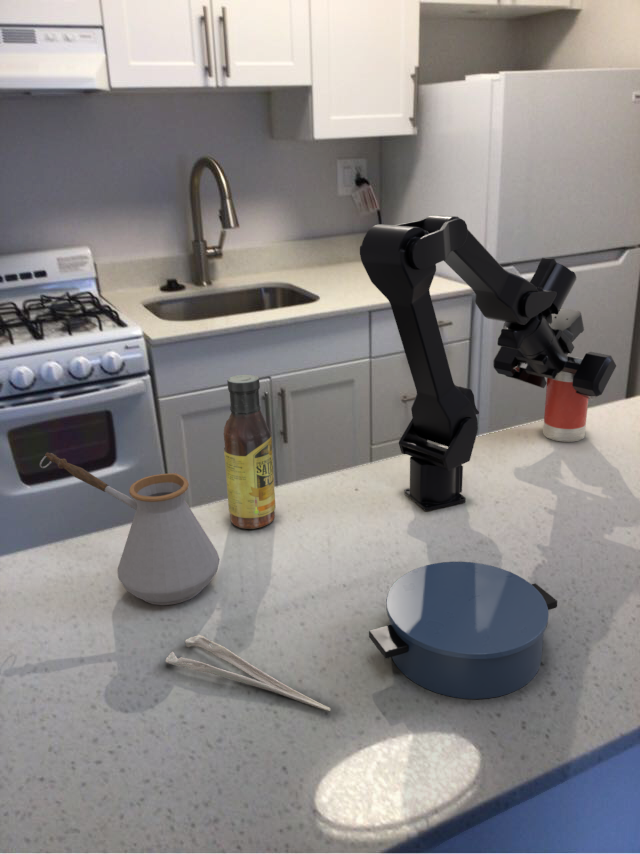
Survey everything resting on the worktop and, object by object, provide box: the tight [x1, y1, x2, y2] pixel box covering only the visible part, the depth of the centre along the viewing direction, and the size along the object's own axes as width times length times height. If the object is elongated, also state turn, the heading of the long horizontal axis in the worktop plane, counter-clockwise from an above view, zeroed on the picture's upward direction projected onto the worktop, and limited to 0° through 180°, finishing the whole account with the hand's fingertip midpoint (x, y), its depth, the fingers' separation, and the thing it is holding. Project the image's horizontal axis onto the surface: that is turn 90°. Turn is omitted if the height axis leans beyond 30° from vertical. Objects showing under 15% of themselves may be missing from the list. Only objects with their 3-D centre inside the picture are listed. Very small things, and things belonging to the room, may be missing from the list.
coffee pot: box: [39, 452, 220, 606], centre depth 86 cm, size 21×12×15 cm, turn 68°
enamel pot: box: [368, 561, 558, 700], centre depth 74 cm, size 19×15×5 cm
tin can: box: [542, 356, 589, 443], centre depth 124 cm, size 7×7×12 cm
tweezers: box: [165, 634, 331, 712], centre depth 71 cm, size 18×5×2 cm, turn 60°
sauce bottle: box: [223, 373, 276, 530], centre depth 98 cm, size 6×6×20 cm
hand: (569, 391), depth 124 cm, fingers open, 9 cm apart
